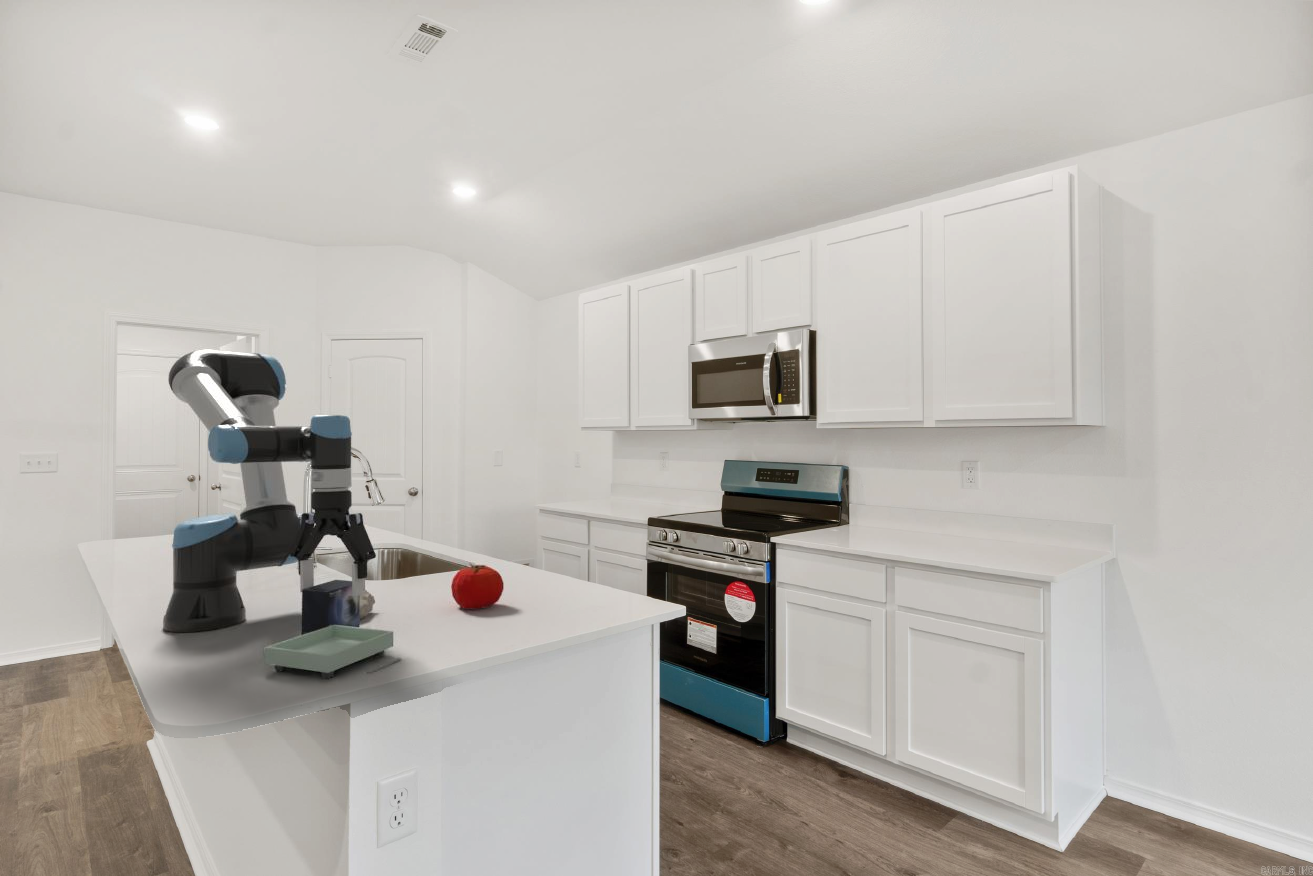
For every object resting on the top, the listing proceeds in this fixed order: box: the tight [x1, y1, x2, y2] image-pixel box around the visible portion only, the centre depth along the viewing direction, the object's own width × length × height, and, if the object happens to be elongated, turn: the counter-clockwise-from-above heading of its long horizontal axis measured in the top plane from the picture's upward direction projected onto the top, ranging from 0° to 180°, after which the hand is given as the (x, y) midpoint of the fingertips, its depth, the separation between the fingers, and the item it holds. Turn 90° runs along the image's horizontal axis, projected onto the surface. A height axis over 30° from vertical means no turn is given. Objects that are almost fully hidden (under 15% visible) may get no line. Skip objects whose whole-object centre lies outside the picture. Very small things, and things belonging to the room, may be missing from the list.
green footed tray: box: [263, 625, 394, 680], centre depth 123 cm, size 14×15×4 cm
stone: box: [359, 589, 376, 620], centre depth 155 cm, size 8×12×10 cm, turn 177°
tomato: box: [450, 562, 505, 610], centre depth 164 cm, size 11×13×10 cm
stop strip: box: [366, 657, 403, 674], centre depth 121 cm, size 1×8×1 cm, turn 161°
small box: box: [300, 579, 360, 636], centre depth 141 cm, size 11×6×10 cm, turn 168°
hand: (332, 593), depth 140 cm, fingers open, 13 cm apart
